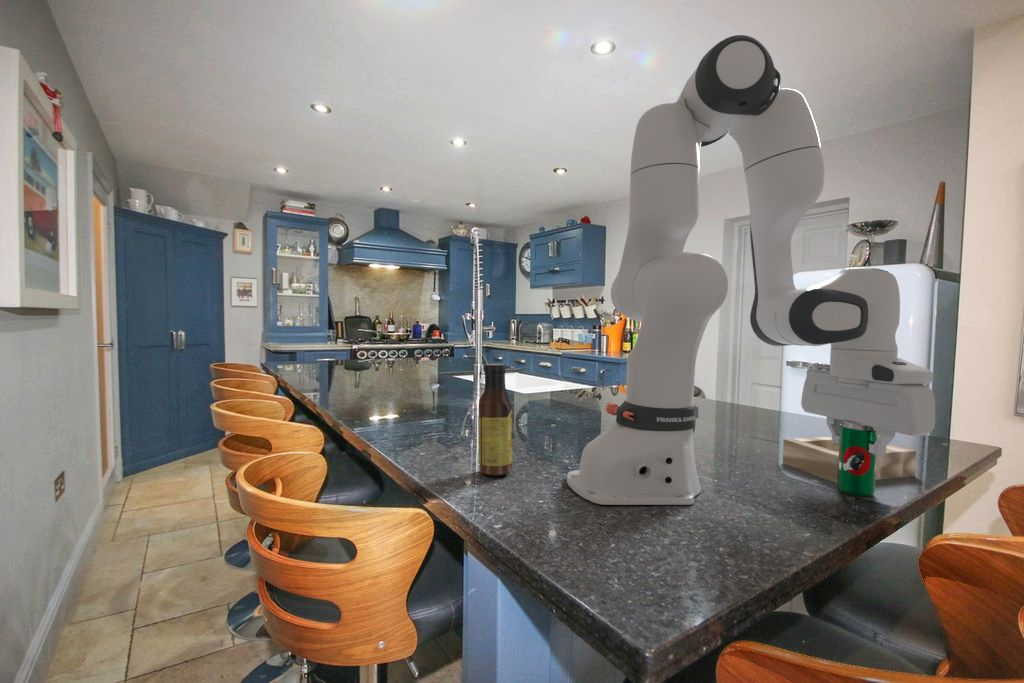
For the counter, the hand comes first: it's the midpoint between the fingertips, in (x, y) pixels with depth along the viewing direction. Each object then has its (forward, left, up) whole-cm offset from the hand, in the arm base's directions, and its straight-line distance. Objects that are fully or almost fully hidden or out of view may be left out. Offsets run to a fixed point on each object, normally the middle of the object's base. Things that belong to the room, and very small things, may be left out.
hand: (857, 450), depth 77 cm
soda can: (0, 0, -7) cm, 7 cm away
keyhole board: (+10, +10, -7) cm, 16 cm away
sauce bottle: (-57, +22, -8) cm, 62 cm away
